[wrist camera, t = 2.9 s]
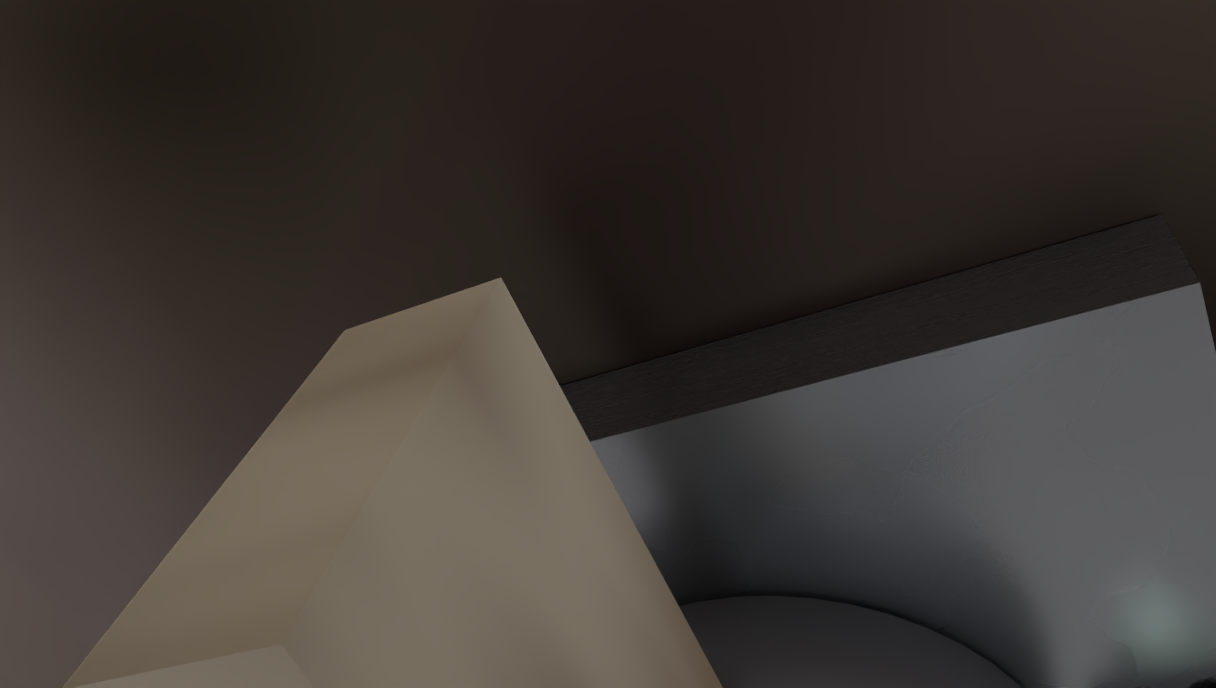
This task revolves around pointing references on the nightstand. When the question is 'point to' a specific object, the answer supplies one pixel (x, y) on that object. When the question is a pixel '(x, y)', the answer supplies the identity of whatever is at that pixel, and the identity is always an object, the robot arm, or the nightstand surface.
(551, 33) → the nightstand surface
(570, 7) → the nightstand surface
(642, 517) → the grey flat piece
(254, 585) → the knob
